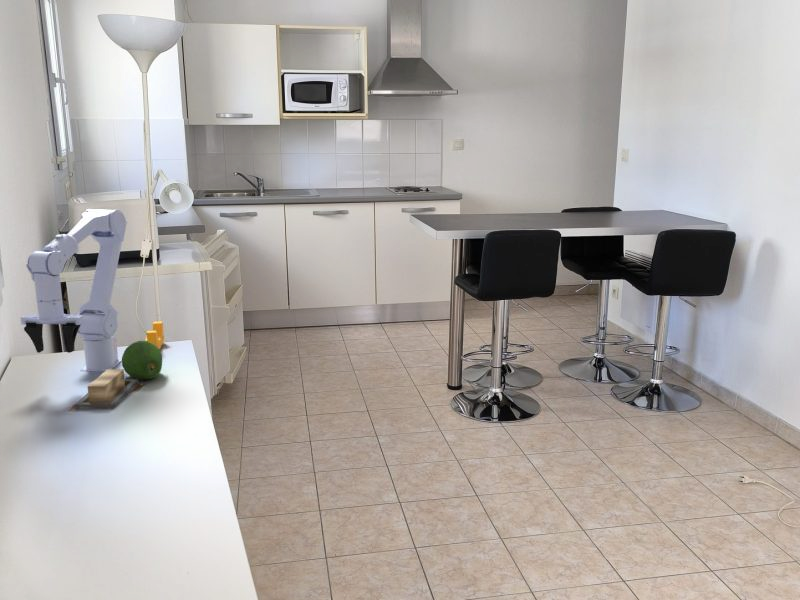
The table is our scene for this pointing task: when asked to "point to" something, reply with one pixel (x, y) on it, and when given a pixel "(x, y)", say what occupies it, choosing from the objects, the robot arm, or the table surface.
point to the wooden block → (106, 386)
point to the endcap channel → (130, 387)
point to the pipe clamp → (156, 334)
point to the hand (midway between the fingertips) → (55, 351)
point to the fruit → (142, 360)
